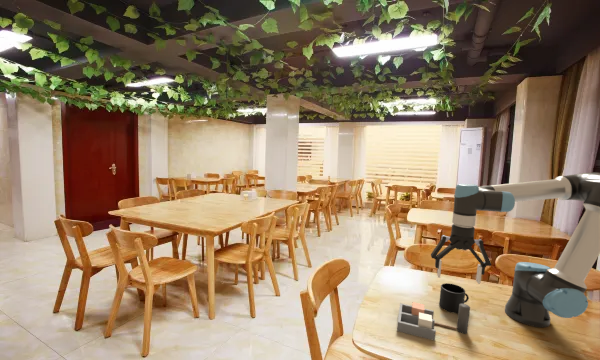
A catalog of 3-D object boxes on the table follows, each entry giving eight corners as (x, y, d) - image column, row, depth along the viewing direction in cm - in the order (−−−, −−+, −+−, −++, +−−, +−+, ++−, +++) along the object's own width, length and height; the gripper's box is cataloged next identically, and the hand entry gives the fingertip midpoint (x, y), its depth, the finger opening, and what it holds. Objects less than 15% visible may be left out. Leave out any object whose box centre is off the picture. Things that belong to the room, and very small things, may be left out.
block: (430, 330, 111) (431, 315, 110) (430, 336, 107) (432, 321, 106) (417, 326, 113) (419, 312, 112) (417, 333, 108) (419, 318, 108)
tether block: (466, 328, 113) (469, 304, 112) (468, 335, 108) (471, 310, 107) (411, 315, 120) (413, 292, 119) (410, 321, 116) (413, 297, 115)
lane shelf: (432, 318, 119) (433, 310, 118) (434, 340, 105) (435, 331, 104) (399, 310, 123) (400, 303, 123) (396, 330, 110) (397, 321, 109)
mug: (473, 314, 123) (476, 294, 122) (445, 313, 123) (447, 293, 122) (461, 302, 133) (463, 283, 132) (435, 301, 132) (437, 282, 131)
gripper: (498, 226, 109) (492, 280, 111) (426, 219, 117) (422, 270, 119) (505, 231, 102) (499, 289, 104) (428, 223, 110) (423, 277, 112)
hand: (458, 279), depth 112 cm, fingers open, 13 cm apart
